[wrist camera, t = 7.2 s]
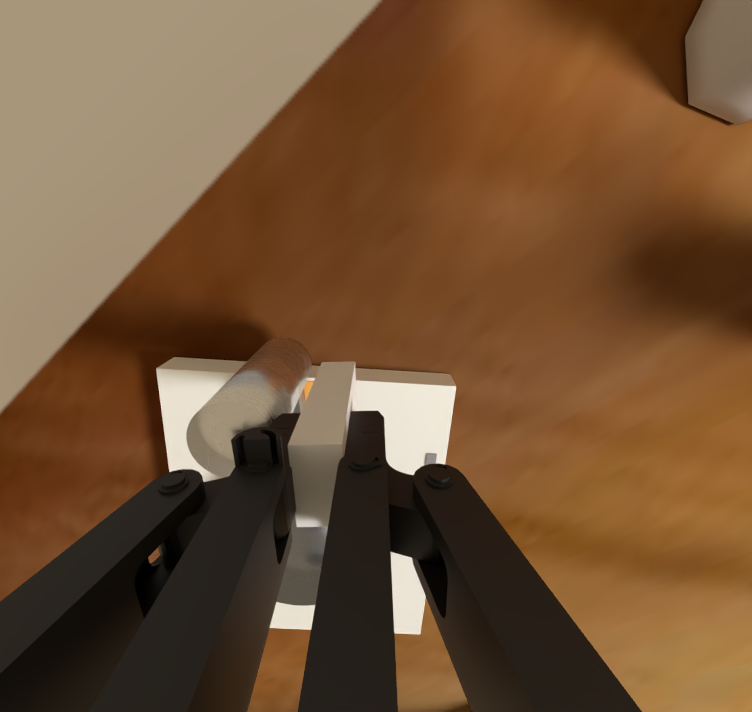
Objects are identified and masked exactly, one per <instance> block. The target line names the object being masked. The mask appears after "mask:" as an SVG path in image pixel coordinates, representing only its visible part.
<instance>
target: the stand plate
mask: <svg viewBox="0 0 752 712" xmlns="http://www.w3.org/2000/svg"><path fill="white" fill-rule="evenodd" d="M246 362H247V361H231V360H215V359H198V358H182V357H174V358H172V359H170V360H169V361H167V362H166V363H164V364H162V365H161V366H159V367H157V368H156V372H157V380H158V387H159V395H160V403H161V411H162V419H163V426H164V434H165V442H166V450H167V457H168V465H169V472H171V471H175V470H181V469H193V470H196V471H199V472H200V474H201V475H202V477H203V482H207V481H211V480H216V479H221V478H223V477H220V476H217V475H214V474H212V473H210V472H209V471H207V470H205V469H204V468H203V467H202V466H200V465H199V464H198V463H197V462H196V460H195V459H194V458H193V456H192V455H191V453H190V451H189V448H188V445H187V440H186V433H187V428H188V424H189V422H190V420H191V419H192V417H193V416H194V415H195V414H196V413H197V412H198V411H199V410H200V409H201V408H202V407H203V406H204V405H205V404H206V403H207V402H208V401H209V400H210V399H211V398H212V397H213V396H214V395H215V394H216V393H217V392H218V391H219V389H220V388H221V387H222V386H223V385H224V384H225V383H226V382H227V381H228V380H229V379H230V378H231V377H232V376H233V375H234V374H235V373H236V372H237V371H238V370H239V369H240V368H241V367H242V366H243V365H244V364H245V363H246ZM319 368H320V366H313V365H312V370H311V373H310V376H309V378H308V380H307V382H306V384H305V387H304V391H305V400H306V399H307V397H308V395H309V392H310V390H311V387H312V385H313V382H314V380H315V378H316V375H317V373H318V370H319ZM355 372H356V397H357V411H379V412H380V413H381V414H382V416H383V417H384V426H385V449H386V460H387V462H388V464H389V465H390V466H391V467H392V468H394V469H395V470H397V471H399V472H402V473H406V474H410V475H414V473H415V471H416V470H417V469H419V468H420V467H421V466H424V465H428V464H444V465H445V461H446V454H447V447H448V440H449V433H450V426H451V419H452V412H453V406H454V399H455V392H456V385H455V383H454V381H453V379H452V377H451V375H450V374H445V373H429V372H412V371H396V370H379V369H363V368H355ZM391 572H392V594H393V616H394V633H399V634H420V632H421V625H422V619H423V612H424V605H425V598H426V596H425V593H424V591H423V588H422V586H421V583H420V581H419V578H418V576H417V573H416V571H415V568H414V566H413V561H412V558H411V557H407V556H404V555H400V554H397V553H393V552H391ZM314 610H315V605H309V606H298V605H288V604H284V603H279V602H276V605H275V609H274V613H273V616H272V620H271V624H270V628H284V629H307V630H311V628H312V622H313V616H314Z"/></svg>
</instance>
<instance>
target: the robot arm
mask: <svg viewBox="0 0 752 712" xmlns="http://www.w3.org/2000/svg"><path fill="white" fill-rule="evenodd" d="M231 444H232V450H233V456H234V462H235V468H234V469H233V471H232V473H231V474H230V476H228V477H224V478H221V479H216V480H211V481H207V482H203V477H202V475H201V474H200V472H199V471H196V470H193V469H181V470H175V471H171V472H169V473H167V474H164V475H162V476H160V477H158V478H157V479H155V480H154V481H152V482H151V483H150V484H148V485H147V486H146V487H145V488H143V489H142V490H141V491H140V492H138V493H137V494H136V495H135V496H133V497H132V498H131V499H129V500H128V501H127V502H126V503H124V504H123V505H122V506H121V507H119V508H118V509H117V510H116V511H114V512H113V513H112V514H111V515H109V516H108V517H107V518H105V519H104V520H103V521H102V522H100V523H99V524H98V525H97V526H95V527H94V528H93V529H92V530H90V531H89V532H88V533H87V534H85V535H84V536H83V537H81V538H80V539H79V540H78V541H76V542H75V543H74V544H73V545H71V546H70V547H69V548H68V549H66V550H65V551H64V552H63V553H61V554H60V555H59V556H58V557H56V558H55V559H54V560H52V561H51V562H50V563H49V564H47V565H46V566H45V567H44V568H42V569H41V570H40V571H39V572H37V573H36V574H35V575H34V576H32V577H31V578H30V579H28V580H27V581H26V582H25V583H23V584H22V585H21V586H20V587H18V588H17V589H16V590H15V591H13V592H12V593H11V594H10V595H8V596H7V597H6V598H4V599H3V600H2V601H1V602H0V712H247V710H248V706H249V703H250V699H251V695H252V691H253V688H254V684H255V680H256V676H257V673H258V669H259V665H260V661H261V658H262V654H263V650H264V646H265V643H266V639H267V635H268V631H269V628H270V624H271V620H272V616H273V613H274V609H275V605H276V601H277V598H278V594H279V590H280V587H281V583H282V579H283V575H284V572H285V568H286V564H287V560H288V557H289V553H290V549H291V545H292V539H293V535H292V522H293V519H294V515H295V517H296V526H297V527H328V530H327V536H326V542H325V548H324V554H323V560H322V567H321V573H320V579H319V585H318V591H317V597H316V603H315V610H314V616H313V622H312V628H311V634H310V640H309V646H308V653H307V659H306V665H305V671H304V677H303V683H302V689H301V696H300V702H299V708H298V712H398V706H397V683H396V661H395V639H394V616H393V594H392V572H391V552H393V553H397V554H400V555H404V556H407V557H411V558H412V561H413V566H414V568H415V571H416V573H417V576H418V578H419V581H420V583H421V586H422V588H423V591H424V593H425V596H426V598H427V601H428V603H429V606H430V608H431V611H432V613H433V616H434V618H435V621H436V623H437V626H438V628H439V631H440V633H441V636H442V638H443V641H444V643H445V646H446V648H447V651H448V653H449V656H450V658H451V661H452V663H453V666H454V668H455V671H456V673H457V676H458V678H459V681H460V683H461V686H462V688H463V691H464V693H465V696H466V698H467V701H468V703H469V706H470V708H471V711H472V712H642V711H641V710H640V709H639V707H638V706H637V705H636V703H635V702H634V701H633V699H632V698H631V697H630V695H629V694H628V693H627V691H626V690H625V689H624V687H623V686H622V685H621V683H620V682H619V681H618V679H617V678H616V677H615V675H614V674H613V673H612V671H611V670H610V669H609V667H608V666H607V665H606V663H605V662H604V661H603V660H602V658H601V657H600V656H599V654H598V653H597V652H596V650H595V649H594V648H593V646H592V645H591V644H590V642H589V641H588V640H587V638H586V637H585V636H584V634H583V633H582V632H581V630H580V629H579V628H578V626H577V625H576V624H575V622H574V621H573V620H572V618H571V617H570V616H569V614H568V613H567V612H566V610H565V609H564V608H563V606H562V605H561V604H560V602H559V601H558V600H557V598H556V597H555V596H554V594H553V593H552V592H551V591H550V589H549V588H548V587H547V585H546V584H545V583H544V581H543V580H542V579H541V577H540V576H539V575H538V573H537V572H536V571H535V569H534V568H533V567H532V565H531V564H530V563H529V561H528V560H527V559H526V557H525V556H524V555H523V553H522V552H521V551H520V549H519V548H518V547H517V545H516V544H515V543H514V541H513V540H512V539H511V537H510V536H509V535H508V533H507V532H506V531H505V529H504V528H503V527H502V526H501V524H500V523H499V522H498V520H497V519H496V518H495V516H494V515H493V514H492V512H491V511H490V510H489V508H488V507H487V506H486V504H485V503H484V502H483V500H482V499H481V498H480V496H479V495H478V494H477V492H476V491H475V490H474V488H473V487H472V486H471V484H470V483H469V482H468V480H467V479H466V478H465V476H464V475H463V474H462V473H461V472H460V471H459V470H457V469H456V468H453V467H451V466H449V465H444V464H428V465H424V466H421V467H420V468H419V469H417V470H416V471H415V473H414V475H410V474H406V473H402V472H399V471H397V470H395V469H394V468H392V467H391V466H390V465H389V464H388V462H387V460H386V449H385V426H384V417H383V416H382V414H381V413H380V412H379V411H357V397H356V372H355V362H322V363H321V365H320V368H319V370H318V373H317V375H316V378H315V380H314V382H313V385H312V387H311V390H310V392H309V395H308V397H307V399H306V402H305V404H304V407H303V409H302V412H301V413H282V414H281V415H279V416H278V417H277V418H275V419H274V420H273V421H272V423H271V425H270V426H269V427H258V428H252V429H248V430H245V431H243V432H241V433H239V434H237V435H235V436H234V437H233V438H232V439H231ZM157 548H159V552H160V556H159V557H158V558H157V559H156V560H155V561H154V562H152V563H151V564H150V563H149V560H148V557H149V556H150V555H151V554H152V553H153V552H154V551H155V550H156V549H157Z"/></svg>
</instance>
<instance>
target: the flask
mask: <svg viewBox="0 0 752 712" xmlns="http://www.w3.org/2000/svg"><path fill="white" fill-rule="evenodd" d="M685 49H686V67H687V85H688V104H689V105H691V106H694V107H696V108H698V109H701V110H703V111H705V112H708V113H710V114H712V115H715V116H717V117H719V118H722V119H724V120H726V121H729V122H731V123H733V124H736V125H739V124H742V123H745V122H748V121H751V120H752V0H703V2H702V4H701V6H700V8H699V10H698V12H697V14H696V16H695V18H694V20H693V22H692V24H691V26H690V28H689V30H688V32H687V34H686V36H685Z"/></svg>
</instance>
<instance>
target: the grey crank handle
mask: <svg viewBox="0 0 752 712" xmlns="http://www.w3.org/2000/svg"><path fill="white" fill-rule="evenodd" d="M311 370H312V360H311V357H310V354H309V352H308V351H307V349H306V348H305V347H304V346H303V345H302V344H301V343H299V342H298V341H296V340H294V339H291V338H286V337H278V338H274V339H271V340H269V341H267V342H266V343H265V344H264V345H263V346H262V347H261V348H260V349H259V350H258V351H257V352H256V353H255V354H254V355H253V356H252V357H251V358H250V359H249V360H248V361H247V362H246V363H245V364H244V365H243V366H242V367H241V368H240V369H239V370H238V371H237V372H236V373H235V374H234V375H233V376H232V377H231V378H230V379H229V380H228V381H227V382H226V383H225V384H224V385H223V386H222V387H221V388H220V389H219V391H218V392H217V393H216V394H215V395H214V396H213V397H212V398H211V399H210V400H209V401H208V402H207V403H206V404H205V405H204V406H203V407H202V408H201V409H200V410H199V411H198V412H197V413H196V414H195V415H194V416H193V417H192V419H191V420H190V422H189V424H188V428H187V433H186V440H187V445H188V448H189V451H190V453H191V455H192V456H193V458H194V459H195V460H196V462H197V463H198V464H199V465H200V466H202V467H203V468H204V469H205V470H207V471H209V472H210V473H212V474H214V475H217V476H220V477H223V478H224V477H228V476H230V474H231V473H232V471H233V469H234V468H235V462H234V456H233V450H232V444H231V439H232V438H233V437H234V436H235V435H237V434H239V433H241V432H243V431H245V430H248V429H252V428H258V427H269V426H270V425H271V423H272V421H273V420H274V419H275V418H277V417H278V416H279V415H281V414H282V413H301V412H302V409H303V407H304V404H305V402H306V400H305V391H304V387H305V384H306V382H307V380H308V378H309V376H310V373H311ZM327 530H328V527H297V526H296V517H295V515H294V519H293V522H292V535H293V539H292V545H291V549H290V553H289V557H288V560H287V564H286V568H285V572H284V575H283V579H282V583H281V587H280V590H279V594H278V598H277V601H276V602H279V603H284V604H288V605H298V606H309V605H315V603H316V597H317V591H318V585H319V579H320V573H321V567H322V560H323V554H324V548H325V542H326V536H327Z"/></svg>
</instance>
